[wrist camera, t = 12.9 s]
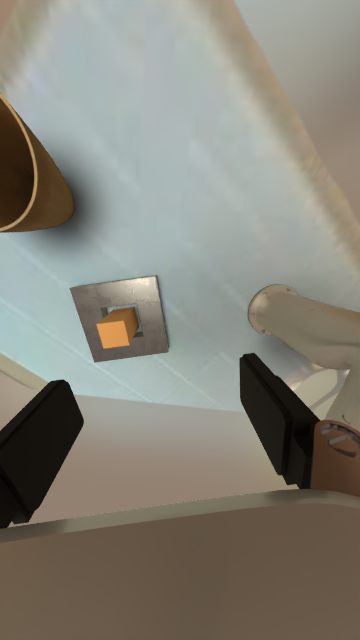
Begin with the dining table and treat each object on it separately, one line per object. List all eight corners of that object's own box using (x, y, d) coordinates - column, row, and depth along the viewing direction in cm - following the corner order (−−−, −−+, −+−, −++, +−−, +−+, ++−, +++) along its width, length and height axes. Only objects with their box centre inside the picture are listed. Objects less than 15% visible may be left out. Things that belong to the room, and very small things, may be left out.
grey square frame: (156, 275, 39) (155, 276, 36) (168, 346, 44) (168, 352, 42) (77, 286, 39) (69, 288, 36) (99, 355, 44) (94, 362, 42)
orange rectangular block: (134, 307, 41) (123, 320, 31) (138, 326, 42) (129, 345, 33) (113, 309, 41) (96, 324, 31) (118, 329, 42) (103, 348, 33)
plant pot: (9, 225, 34) (-118, 196, 19) (19, 137, 30) (-135, 12, 15) (85, 256, 37) (25, 252, 22) (104, 179, 33) (45, 107, 17)
